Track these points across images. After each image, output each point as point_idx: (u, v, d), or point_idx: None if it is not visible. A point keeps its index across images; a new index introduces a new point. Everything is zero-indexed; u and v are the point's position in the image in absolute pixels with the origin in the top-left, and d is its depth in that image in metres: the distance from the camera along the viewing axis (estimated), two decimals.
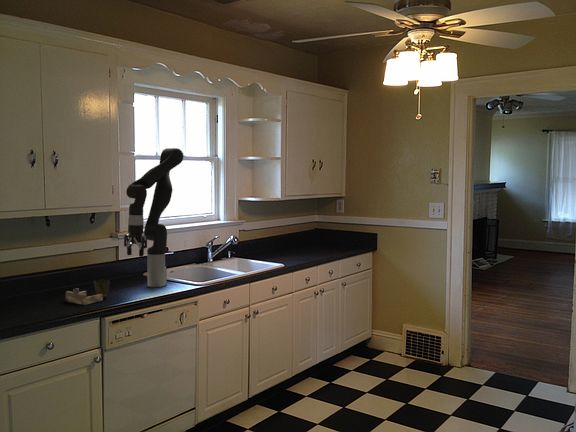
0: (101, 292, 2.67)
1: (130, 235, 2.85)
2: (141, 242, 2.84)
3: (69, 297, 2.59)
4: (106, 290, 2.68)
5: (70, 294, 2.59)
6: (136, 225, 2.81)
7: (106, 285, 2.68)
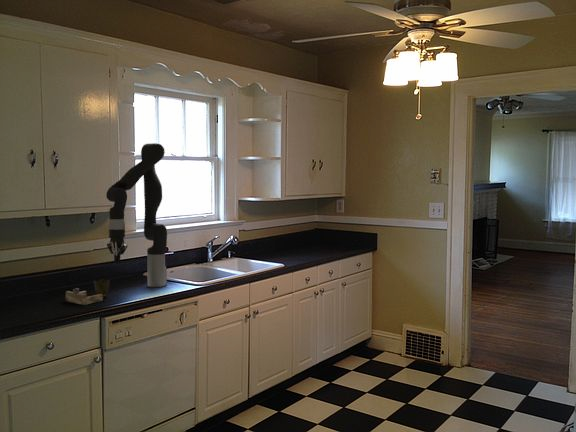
0: (101, 292, 2.67)
1: (111, 239, 2.77)
2: (120, 247, 2.77)
3: (69, 297, 2.59)
4: (106, 290, 2.68)
5: (70, 294, 2.59)
6: (117, 229, 2.72)
7: (106, 285, 2.68)
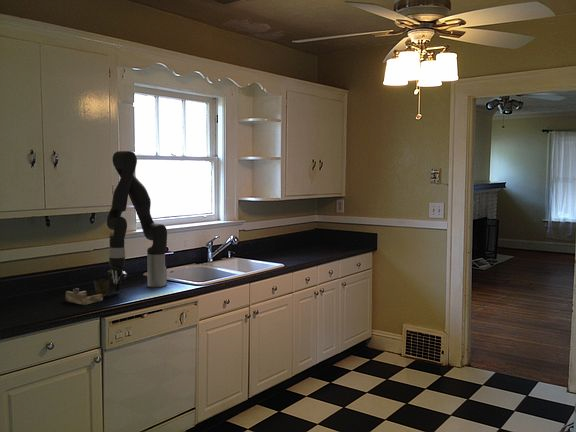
0: (101, 292, 2.67)
1: (111, 267, 2.78)
2: (120, 276, 2.78)
3: (69, 297, 2.59)
4: (106, 290, 2.68)
5: (70, 294, 2.59)
6: (117, 258, 2.73)
7: (106, 285, 2.68)
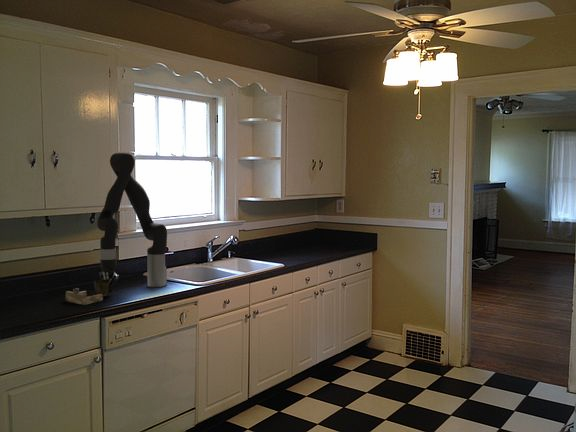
0: (101, 292, 2.67)
1: (103, 269, 2.73)
2: None
3: (69, 297, 2.59)
4: (106, 290, 2.68)
5: (70, 294, 2.59)
6: (108, 260, 2.69)
7: (106, 285, 2.68)
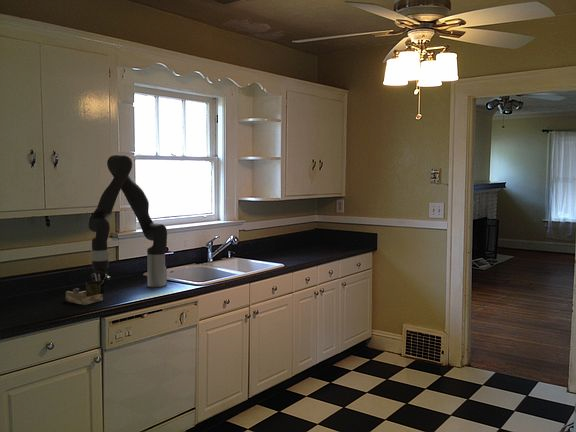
0: (93, 294, 2.63)
1: (95, 271, 2.69)
2: (104, 279, 2.69)
3: (69, 297, 2.59)
4: (98, 292, 2.64)
5: (70, 294, 2.59)
6: (100, 261, 2.65)
7: (98, 287, 2.64)
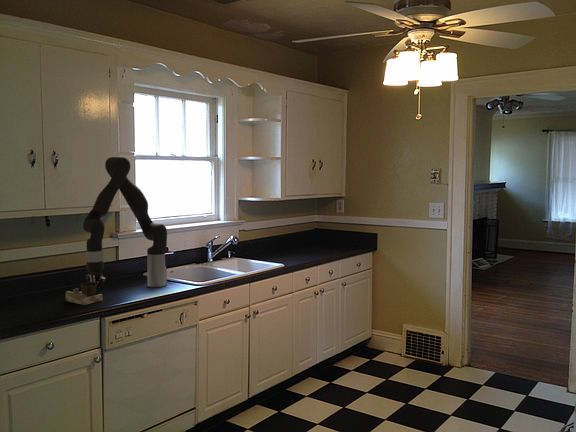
0: (88, 295, 2.61)
1: (89, 272, 2.67)
2: (99, 280, 2.67)
3: (69, 297, 2.59)
4: (93, 293, 2.62)
5: (70, 294, 2.59)
6: (95, 262, 2.62)
7: (93, 288, 2.61)
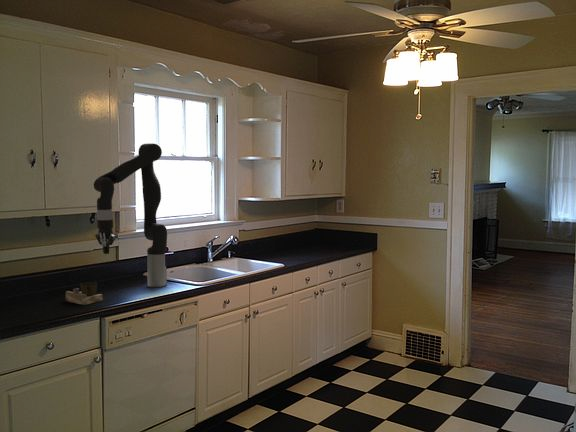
0: (88, 295, 2.61)
1: (100, 230, 2.74)
2: (109, 238, 2.74)
3: (69, 297, 2.59)
4: (93, 293, 2.62)
5: (70, 294, 2.59)
6: (105, 220, 2.70)
7: (93, 288, 2.61)
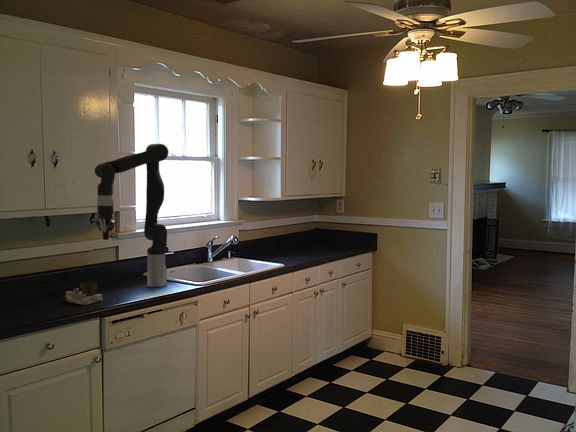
0: (88, 295, 2.61)
1: (100, 216, 2.75)
2: (109, 224, 2.75)
3: (69, 297, 2.59)
4: (93, 293, 2.62)
5: (70, 294, 2.59)
6: (105, 206, 2.71)
7: (93, 288, 2.61)
